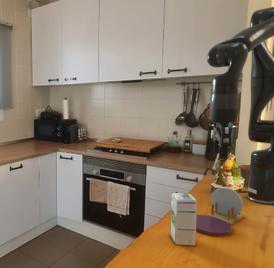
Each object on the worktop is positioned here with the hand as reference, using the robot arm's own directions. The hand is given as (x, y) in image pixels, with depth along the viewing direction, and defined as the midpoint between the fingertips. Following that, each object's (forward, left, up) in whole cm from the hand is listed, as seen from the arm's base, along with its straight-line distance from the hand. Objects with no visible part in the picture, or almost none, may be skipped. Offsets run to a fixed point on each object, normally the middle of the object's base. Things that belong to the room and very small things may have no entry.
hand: (220, 155), depth 91 cm
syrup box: (+20, 0, -24) cm, 31 cm away
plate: (-8, 0, -18) cm, 20 cm away
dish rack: (-8, 0, -24) cm, 25 cm away
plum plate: (+4, 0, -24) cm, 25 cm away
